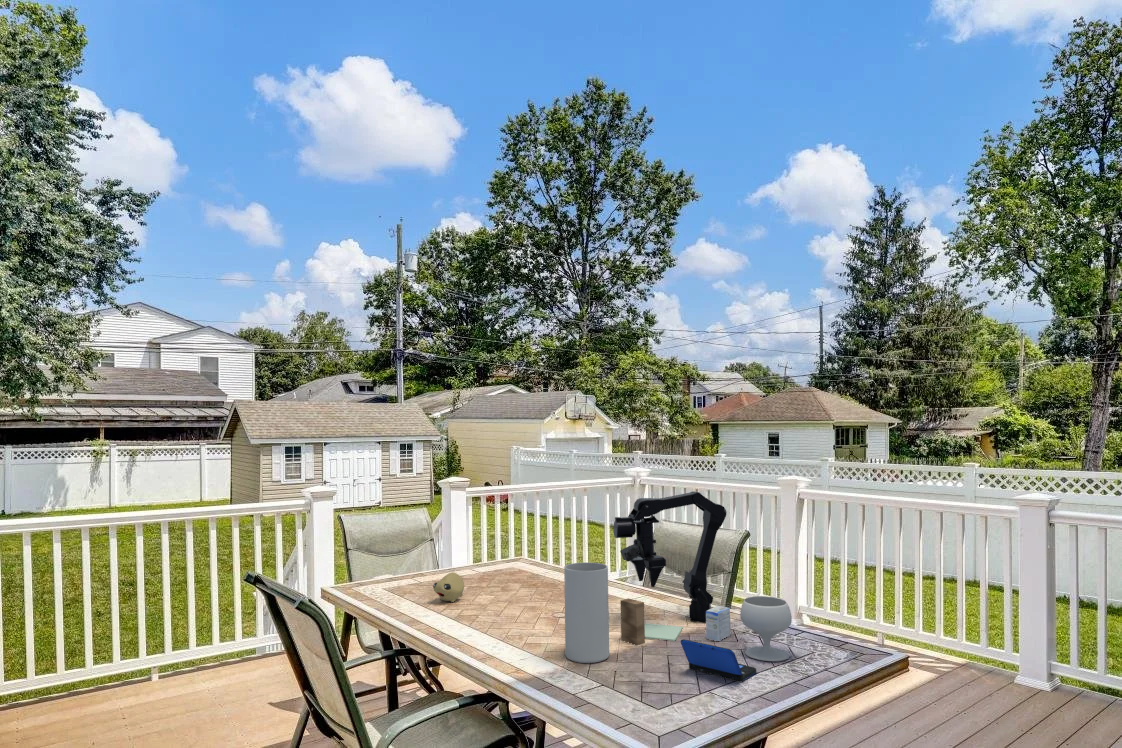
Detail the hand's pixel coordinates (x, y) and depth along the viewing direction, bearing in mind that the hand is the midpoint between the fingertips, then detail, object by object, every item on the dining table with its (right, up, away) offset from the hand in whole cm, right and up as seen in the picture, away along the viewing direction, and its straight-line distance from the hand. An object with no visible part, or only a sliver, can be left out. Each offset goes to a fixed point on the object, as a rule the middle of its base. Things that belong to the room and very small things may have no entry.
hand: (646, 583), depth 223 cm
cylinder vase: (-21, -10, -34) cm, 41 cm away
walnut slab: (-7, -11, -21) cm, 24 cm away
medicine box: (+20, -11, -18) cm, 29 cm away
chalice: (+30, -10, -34) cm, 46 cm away
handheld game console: (+13, -9, -47) cm, 50 cm away
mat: (+1, -12, -12) cm, 17 cm away
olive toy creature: (-71, -16, +30) cm, 79 cm away
